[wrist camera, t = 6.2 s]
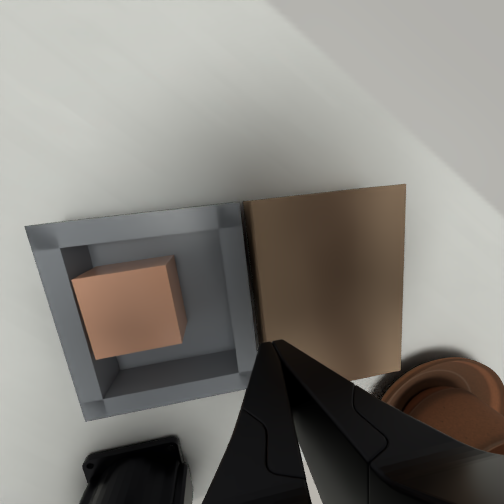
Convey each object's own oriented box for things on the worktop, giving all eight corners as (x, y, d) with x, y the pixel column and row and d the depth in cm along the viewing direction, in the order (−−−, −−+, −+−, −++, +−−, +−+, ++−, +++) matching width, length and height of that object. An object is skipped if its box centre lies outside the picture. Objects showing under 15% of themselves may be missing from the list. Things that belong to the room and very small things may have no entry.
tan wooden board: (260, 354, 18) (272, 397, 14) (242, 201, 15) (251, 201, 11) (362, 335, 19) (400, 370, 15) (360, 188, 16) (406, 183, 12)
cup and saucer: (485, 434, 23) (578, 516, 17) (370, 480, 22) (426, 583, 16) (478, 326, 20) (588, 378, 14) (347, 373, 19) (405, 450, 13)
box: (108, 382, 16) (85, 421, 14) (64, 221, 14) (24, 226, 11) (253, 355, 18) (260, 386, 15) (234, 202, 15) (239, 202, 12)
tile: (182, 343, 13) (187, 321, 16) (165, 265, 12) (173, 254, 15) (95, 359, 13) (114, 334, 15) (71, 279, 12) (95, 266, 14)
